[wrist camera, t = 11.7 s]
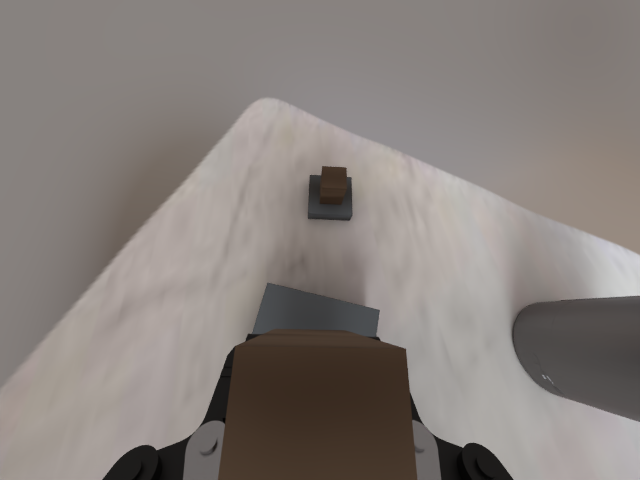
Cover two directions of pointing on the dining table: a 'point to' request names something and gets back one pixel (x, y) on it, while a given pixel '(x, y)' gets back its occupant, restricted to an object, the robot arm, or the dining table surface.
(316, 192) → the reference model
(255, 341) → the walnut block
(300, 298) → the slate base block
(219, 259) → the dining table surface
